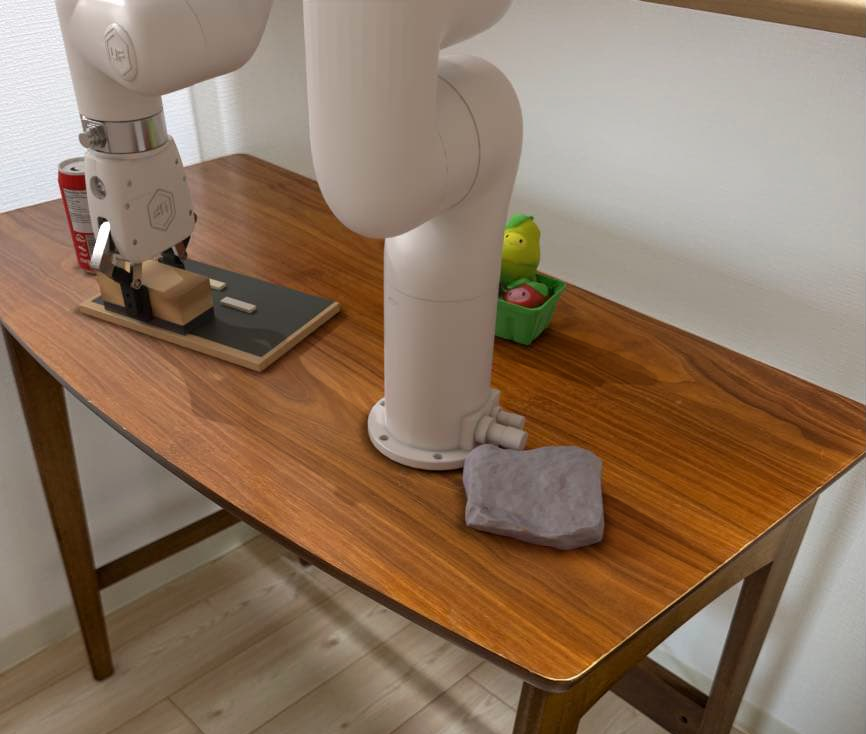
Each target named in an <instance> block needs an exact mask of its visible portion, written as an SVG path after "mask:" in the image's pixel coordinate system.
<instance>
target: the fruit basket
mask: <svg viewBox="0 0 866 734" xmlns="http://www.w3.org/2000/svg"><path fill="white" fill-rule="evenodd" d="M534 219H535V217H534V216H533V215H529V214H528V215H526V214H523V213H515V214H513V216H512V217H510V219H509V220H508V223H506V226H505V233H504V241H503V250H502V261H501V272H500V280H499V289H498V301H497V313H496V325H495V336H494V337H498V338H501V339H504V340H510V341H513V342H515V343H519V344H521V345H524V346H529V345H531V343H532V341H534V340H536V339H537V338H538V337H540V335H541V334H542V333H543V331H544V330H545V329H547V328H548V327H549V324H550V323H551V320H552V318H553V315H554V312H555V311H556V308H557V305H558V303H559V301H560V299H561V298H560V297H561V296H562V295H563V293H564V291H565V289H566V287H567V284H566V282H565V281H563V280H560V279H557V278H553V277H550V276H547V275H544V274H540V273H537V270H538V267H539V265H540V261H541V247H540V240H541V230H540V228H539V226H538V225H537V224H536V222H535V221H534Z"/></svg>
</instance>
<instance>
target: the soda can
mask: <svg viewBox="0 0 866 734" xmlns="http://www.w3.org/2000/svg"><path fill="white" fill-rule="evenodd" d="M57 170H58V171H57V183H58V188H59V193H60V195H61V200H62V205H63V207H64V213H65V216H66V220H67V223H68V228H69V232H70V236H71V240H72V244H73V248H74V252H75V257H76V260H77V264H78V266H79V267H80V268H81V269H83V270H84V271H86V272H87V273H90V274H94V275H97V274H96V271H94V270H92V269H91V268H90V261H91V258H92V255H93V251H94V248H95V244H96V239H95V236H94V232H93V227H92V222H91V217H90V211H89V205H88V198H87V190H86V180H85V158H84V156H77V157H71V158H66V159H63V160H62V161H60V162H59V163H58V164H57ZM111 262H113V254H112V257H111Z"/></svg>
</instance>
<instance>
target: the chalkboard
mask: <svg viewBox="0 0 866 734" xmlns="http://www.w3.org/2000/svg"><path fill="white" fill-rule="evenodd" d="M161 257H162V258H163V256H161ZM155 261H156V262H158V259H157V260H155ZM183 264H184V266H185V270H186V271H190V272H193V273H196V274H200V275H203V276H206V277H209V278H210V279H213V280H216V281H220V282H223V283H226V287H224V288H223V289H221V290H216V289H213V288H211V292H212V299H213V307H214V313H215V316H214V317H213V318H211V319H210V320H208V321H207V322H205V323H204V324H202V325H201V326H199V327H198V328H196V329H195V330H193V331H192V332H190V333H189V334H187V335H186V336H184V335H181V334H178V333H175V332H172V331H169V330H166V329H162V328H159V327H156V326H153V325H150V324H147V323H144V322H141V321H138V320H135V319H132V318H129V317H126V316H123V315H120V314H117V313H114V312H111V311H108V310H105V308H104V304H103V299H102V296H101V291H100V292H98V293H97V294H94V295H93V296H91V297H89V298H87V299H86V300H84V301H82V302H81V303H79V304H78V306H79V310H80V313H82V314H85V315H87V316H90V317H94V318H97V319H100V320H102V321H105V322H108V323H112V324H115V325H118V326H121V327H124V328H126V329H130V330H133V331H136V332H139V333H141V334H144V335H148V336H151V337H153V338H157V339H160V340H163V341H165V342H168V343H171V344H174V345H177V346H181V347H182V348H186V349H189V350H192V351H196V352H199V353H201V354H204V355H207V356H210V357H213V358H216V359H219V360H222V361H225V362H229V363H231V364H234V365H238V366H241V367H243V368H246V369H249V370H252V371H255V372H258V373H261V372H263V371H264V370H265V369H267V368H268V367H269V366H270V365H272V364H273V363H275V362H276V360H278V359H279V358H280V357H281V358H282V356H283V355H285V354H286V353H287V352H289V351H290V350H291V349H293V348H294V347H295V346H296V345H298V344H299V343H300V342H302V341H303V340H305V339H306V338H307V337H308V336H309V335H310V334H312V333H313V332H315V331H316V330H317V329H319V328H320V327H321V326H322V325H324V324H325V323H326V322H327V321H329V320H330V319H332V317H334V316H335V315H337V313H339V312H340V311H341V309H340V306H341V305H340V304H341V303H340V302H338V301H334V300H331V299H328V298H324V297H321V296H317V295H313V294H311V293H307V292H305V291H301V290H297V289H293V288H291V287H286V286H284V285H280V284H276V283H273V282H270V281H266V280H264V279H259V278H257V277H252V276H249V275H245V274H243V273H239V272H237V271H236V272H235V271H232V270H229V269H225V268H222V267H219V266H215V265H211V264H208V263H205V262H201V261H198V260H195V259H191V258H188V257H187V260H186V261H185V262H184V263H183ZM225 297H229V298H232V299H236V300H239V301H242V302H245V303H249V304H252V305H255V306H256V309H255V310H254V311H252V312H251V313H247V312H244V311H241V310H238V309H234V308H231V307H228V306H225V305H221V304H220V301H221V300H222V299H224V298H225Z"/></svg>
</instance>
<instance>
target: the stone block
mask: <svg viewBox="0 0 866 734" xmlns="http://www.w3.org/2000/svg"><path fill="white" fill-rule="evenodd" d="M602 478H603V461H602V459H601V458H600V456H598V455H596V454H595V453H594V451H592V450H588V449H586V448H585V449H584V448H581V447H579V446H576V445H568V446H567V445H558V446H557V445H551V446H548V445H546V446H541V447H537V448H533V449H526V450H523V451H516V450H511V449H504V448H501V447H499V446H498V447H497V446H494V445H492V444H483V445H480V446H478V447H477V448H475V449H473V450H472V451H471V452H470V453H469V455H468V456H467V457H466V459H465V464H464V467H463V471H462V483H463V487H464V490H465V491H464V492H465V495H466V499H467V501H466V504H465V513H464V516H465V524H466V526H467V527H469V528H472V529H475V530H477V531H483V532H486V533H491V534H495V535H499V536H504V537H509V538H513V539H516V540H519V541H521V542H525V543H530V544H532V545H533V544H534V545H538V546H544V547H552V548H555V549H557V550H562V551H571V550H574V549H577V548H582V547H586V546H591V545H594V544H597V543H599V542H601V541H602V540H603V537H604V536H603V535H604V529H605V517H604V515H605V514H604V503H603V502H604V501H603V492H602Z"/></svg>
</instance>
